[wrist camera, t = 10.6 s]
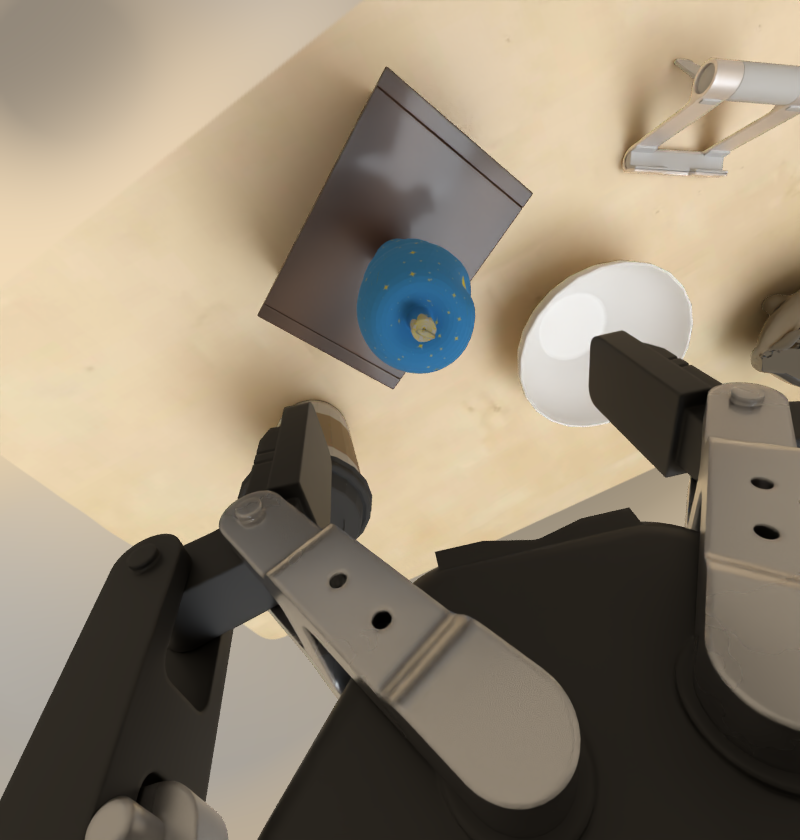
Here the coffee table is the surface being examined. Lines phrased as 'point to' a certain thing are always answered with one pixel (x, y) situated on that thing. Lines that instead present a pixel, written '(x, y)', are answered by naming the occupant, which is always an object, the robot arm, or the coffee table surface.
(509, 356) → the coffee table surface
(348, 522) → the coffee cup
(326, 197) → the wooden drawer cabinet
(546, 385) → the bowl
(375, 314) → the ornament
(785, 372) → the piggy bank
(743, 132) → the tablet stand
